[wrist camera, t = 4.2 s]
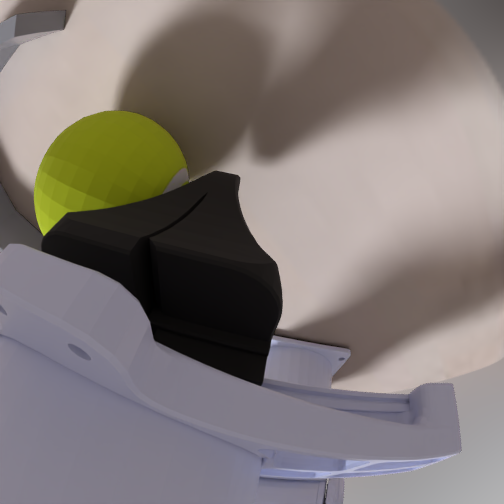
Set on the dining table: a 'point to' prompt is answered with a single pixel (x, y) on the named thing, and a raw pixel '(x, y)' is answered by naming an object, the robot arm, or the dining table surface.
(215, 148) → the dining table surface
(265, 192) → the dining table surface
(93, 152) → the tennis ball
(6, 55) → the catch ring
